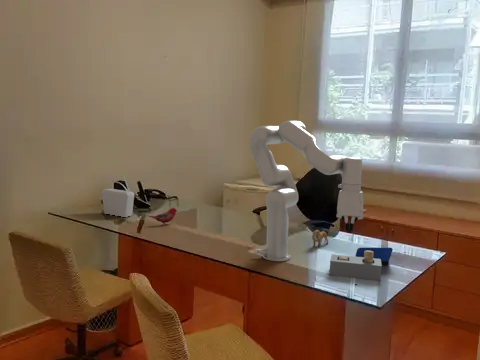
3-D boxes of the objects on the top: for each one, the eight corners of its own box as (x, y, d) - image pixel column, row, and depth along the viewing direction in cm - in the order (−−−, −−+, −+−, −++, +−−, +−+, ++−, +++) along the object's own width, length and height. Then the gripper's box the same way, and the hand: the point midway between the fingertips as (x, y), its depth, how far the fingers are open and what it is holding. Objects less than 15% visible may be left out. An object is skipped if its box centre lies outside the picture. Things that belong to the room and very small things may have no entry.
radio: (136, 216, 298) (136, 176, 295) (126, 218, 291) (126, 177, 288) (111, 211, 310) (110, 172, 307) (101, 213, 303) (100, 174, 300)
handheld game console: (381, 259, 223) (383, 239, 222) (392, 268, 210) (393, 247, 209) (348, 259, 222) (349, 239, 221) (356, 268, 209) (357, 247, 208)
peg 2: (363, 266, 197) (364, 252, 197) (363, 264, 201) (364, 250, 200) (372, 267, 197) (373, 253, 196) (372, 265, 200) (373, 250, 199)
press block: (329, 275, 198) (330, 260, 197) (331, 267, 208) (331, 254, 207) (380, 280, 193) (381, 265, 192) (379, 272, 203) (380, 258, 202)
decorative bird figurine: (178, 225, 279) (178, 207, 277) (147, 226, 272) (147, 209, 271) (177, 224, 281) (177, 207, 280) (146, 225, 275) (146, 208, 273)
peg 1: (337, 273, 200) (338, 259, 200) (338, 270, 204) (339, 256, 203) (346, 274, 199) (347, 259, 199) (347, 271, 203) (348, 257, 202)
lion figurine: (319, 249, 236) (320, 231, 234) (309, 248, 238) (310, 230, 237) (329, 243, 248) (330, 226, 247) (319, 241, 251) (320, 224, 250)
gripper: (331, 188, 195) (329, 232, 197) (370, 190, 191) (367, 235, 193) (333, 185, 202) (331, 229, 204) (370, 187, 198) (367, 231, 201)
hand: (348, 232), depth 199 cm, fingers closed
